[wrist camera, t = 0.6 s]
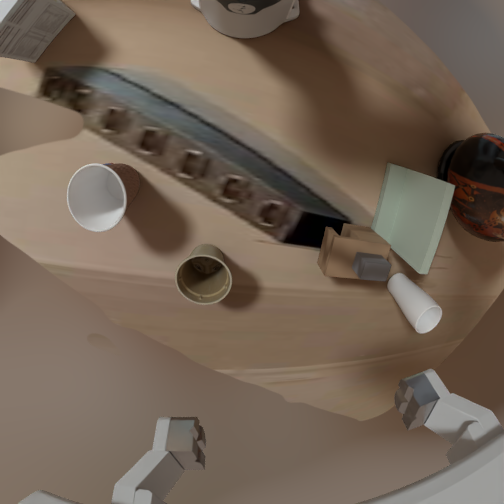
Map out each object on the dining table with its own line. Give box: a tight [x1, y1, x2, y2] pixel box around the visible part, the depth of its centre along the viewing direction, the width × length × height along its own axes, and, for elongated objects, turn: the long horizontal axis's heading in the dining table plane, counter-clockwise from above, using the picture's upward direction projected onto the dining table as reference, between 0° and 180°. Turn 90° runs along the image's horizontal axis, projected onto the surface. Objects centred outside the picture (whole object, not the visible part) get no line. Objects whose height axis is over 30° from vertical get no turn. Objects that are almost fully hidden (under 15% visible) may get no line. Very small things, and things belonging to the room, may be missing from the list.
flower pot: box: [175, 244, 232, 305], centre depth 51 cm, size 9×9×9 cm
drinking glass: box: [387, 273, 442, 334], centre depth 53 cm, size 7×7×15 cm
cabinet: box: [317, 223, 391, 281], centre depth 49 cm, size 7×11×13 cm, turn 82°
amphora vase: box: [437, 133, 504, 242], centre depth 38 cm, size 22×22×28 cm
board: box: [371, 163, 455, 274], centre depth 46 cm, size 16×6×14 cm, turn 171°
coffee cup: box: [67, 163, 140, 232], centre depth 42 cm, size 10×10×12 cm
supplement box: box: [0, 0, 75, 63], centre depth 23 cm, size 13×13×18 cm
